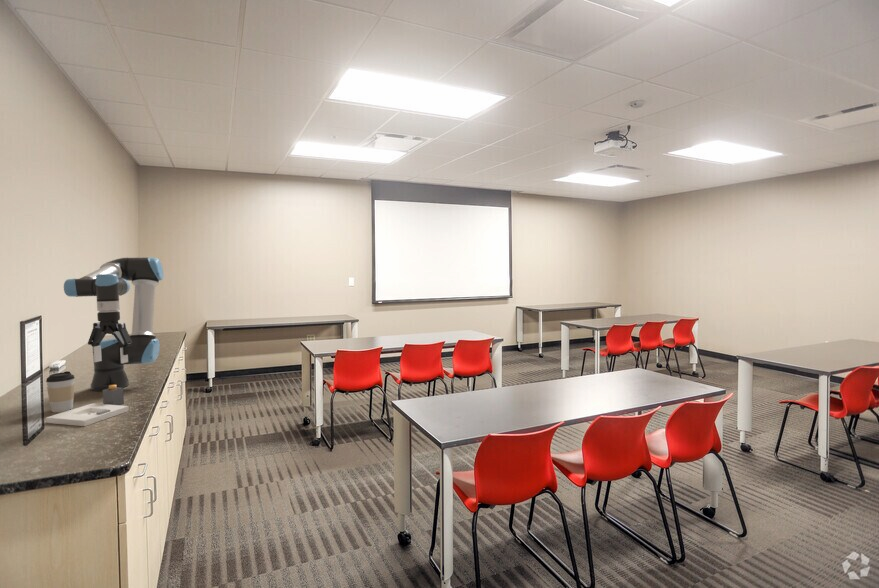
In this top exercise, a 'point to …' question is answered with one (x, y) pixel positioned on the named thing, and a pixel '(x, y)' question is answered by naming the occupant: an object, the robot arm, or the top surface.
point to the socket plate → (87, 414)
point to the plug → (113, 395)
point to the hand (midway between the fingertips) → (111, 362)
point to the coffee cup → (61, 391)
